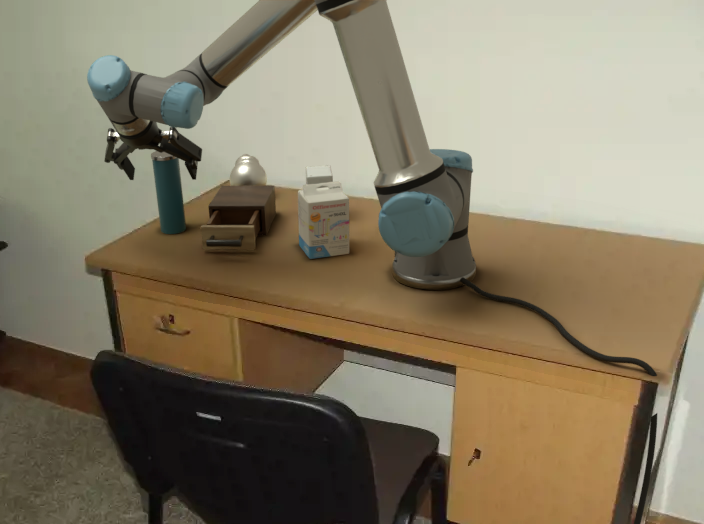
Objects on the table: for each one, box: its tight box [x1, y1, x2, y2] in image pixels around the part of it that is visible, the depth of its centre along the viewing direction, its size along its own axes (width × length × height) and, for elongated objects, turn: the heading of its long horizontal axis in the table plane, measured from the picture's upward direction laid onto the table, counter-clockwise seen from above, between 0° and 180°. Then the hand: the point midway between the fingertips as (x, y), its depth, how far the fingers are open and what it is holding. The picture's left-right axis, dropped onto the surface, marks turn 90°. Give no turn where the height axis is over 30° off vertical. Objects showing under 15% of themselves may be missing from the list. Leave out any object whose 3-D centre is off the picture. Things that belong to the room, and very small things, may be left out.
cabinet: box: [207, 185, 277, 237], centre depth 192 cm, size 14×12×7 cm
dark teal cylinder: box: [150, 150, 187, 235], centre depth 190 cm, size 6×6×17 cm
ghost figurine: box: [229, 153, 268, 186], centre depth 208 cm, size 9×10×10 cm
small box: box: [305, 164, 334, 188], centre depth 192 cm, size 8×6×10 cm
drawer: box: [200, 209, 262, 251], centre depth 182 cm, size 17×11×5 cm, turn 170°
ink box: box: [297, 180, 350, 260], centre depth 175 cm, size 9×8×13 cm
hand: (163, 174), depth 184 cm, fingers open, 13 cm apart
